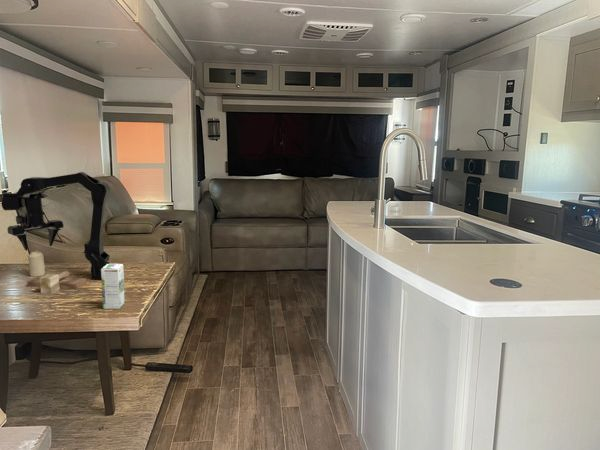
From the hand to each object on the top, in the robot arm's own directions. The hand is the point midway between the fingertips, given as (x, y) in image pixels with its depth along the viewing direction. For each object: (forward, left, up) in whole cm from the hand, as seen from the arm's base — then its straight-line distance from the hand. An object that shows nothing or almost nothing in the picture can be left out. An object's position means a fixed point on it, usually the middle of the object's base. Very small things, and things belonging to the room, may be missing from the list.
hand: (38, 248), depth 179 cm
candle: (+6, -6, -14) cm, 16 cm away
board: (-10, +5, -13) cm, 17 cm away
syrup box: (-43, +24, -14) cm, 51 cm away
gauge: (-12, +8, -13) cm, 20 cm away
